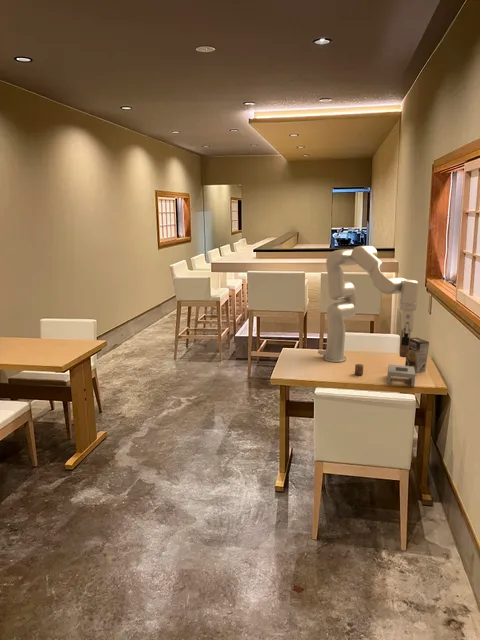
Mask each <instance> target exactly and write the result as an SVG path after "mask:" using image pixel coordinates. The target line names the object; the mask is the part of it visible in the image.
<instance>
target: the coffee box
mask: <svg viewBox="0 0 480 640" xmlns="http://www.w3.org/2000/svg"><path fill="white" fill-rule="evenodd" d="M429 347H430V341H428V340H425V339H422V338H419V337H417V336H416V337H410V342H409V353H408V357H405V362H404V363H405V364H404V366H410V367H414V370H415V374H416V373H423V372H424V373H425V372H426V369H427V362H428V354H429Z"/></svg>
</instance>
